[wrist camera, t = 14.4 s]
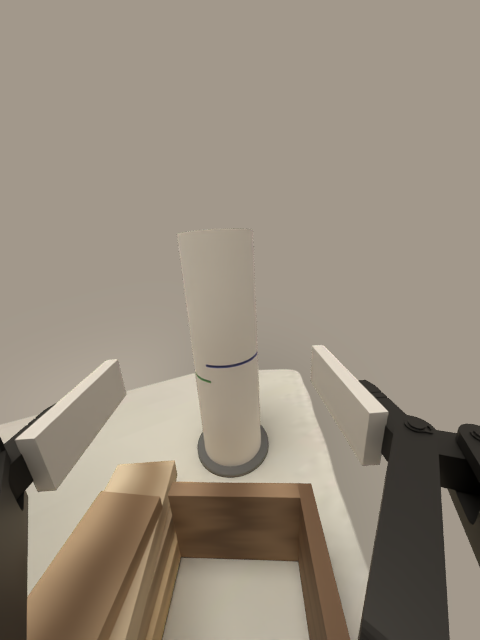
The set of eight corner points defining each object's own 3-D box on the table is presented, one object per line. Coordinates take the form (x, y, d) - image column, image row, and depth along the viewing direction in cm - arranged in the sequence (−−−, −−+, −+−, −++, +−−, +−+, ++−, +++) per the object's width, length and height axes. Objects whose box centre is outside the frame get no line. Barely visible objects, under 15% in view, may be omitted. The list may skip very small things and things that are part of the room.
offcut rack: (-57, 902, 9) (-163, 859, 7) (136, 495, 23) (121, 442, 21) (387, 968, 8) (425, 942, 6) (299, 497, 22) (300, 442, 20)
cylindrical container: (255, 471, 24) (243, 226, 17) (195, 460, 26) (161, 233, 19) (264, 424, 31) (258, 232, 24) (216, 417, 33) (196, 237, 25)
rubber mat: (182, 458, 27) (182, 455, 27) (222, 411, 35) (222, 409, 35) (249, 491, 23) (249, 487, 23) (278, 430, 31) (277, 427, 30)
